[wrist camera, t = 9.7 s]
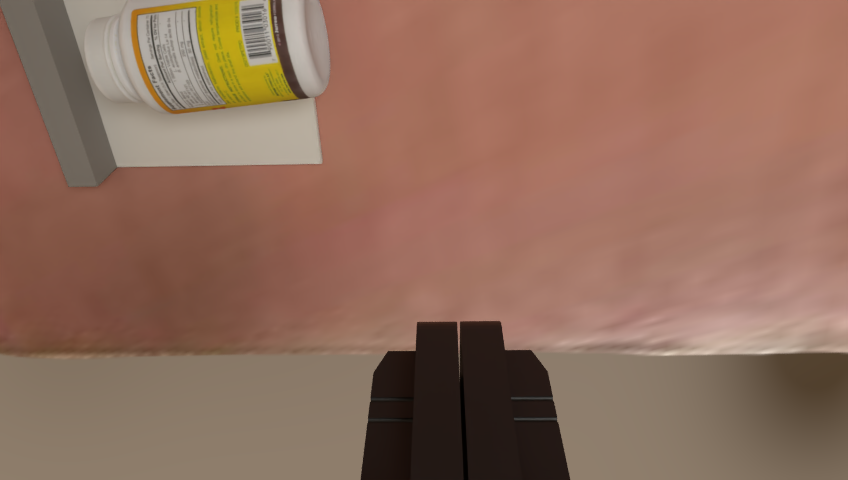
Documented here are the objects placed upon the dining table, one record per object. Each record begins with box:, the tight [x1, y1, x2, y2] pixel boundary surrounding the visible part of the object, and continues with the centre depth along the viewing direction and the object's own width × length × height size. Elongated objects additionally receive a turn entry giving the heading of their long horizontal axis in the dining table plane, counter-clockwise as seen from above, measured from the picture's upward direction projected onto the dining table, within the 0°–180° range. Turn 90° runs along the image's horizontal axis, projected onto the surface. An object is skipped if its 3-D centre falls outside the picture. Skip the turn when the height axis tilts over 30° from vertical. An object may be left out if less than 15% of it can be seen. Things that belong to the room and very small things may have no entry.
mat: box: [0, 0, 323, 187], centre depth 30 cm, size 14×13×3 cm
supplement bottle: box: [84, 0, 330, 115], centre depth 29 cm, size 6×6×10 cm
